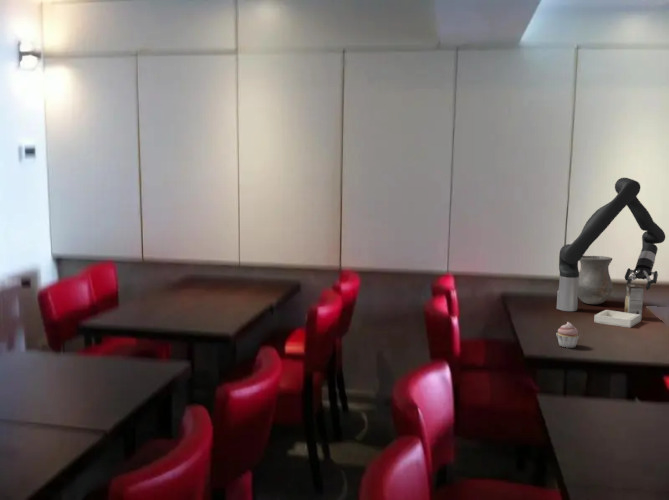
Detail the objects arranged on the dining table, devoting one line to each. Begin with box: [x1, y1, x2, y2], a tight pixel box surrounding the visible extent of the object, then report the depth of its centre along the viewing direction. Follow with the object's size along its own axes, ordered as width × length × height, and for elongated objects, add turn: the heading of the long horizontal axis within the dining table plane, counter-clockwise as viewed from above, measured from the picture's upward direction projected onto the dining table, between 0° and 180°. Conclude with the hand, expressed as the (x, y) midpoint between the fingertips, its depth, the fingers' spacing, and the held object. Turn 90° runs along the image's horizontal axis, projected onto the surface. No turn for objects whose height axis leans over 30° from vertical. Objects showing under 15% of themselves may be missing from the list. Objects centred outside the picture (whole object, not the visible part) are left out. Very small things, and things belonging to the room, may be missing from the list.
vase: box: [578, 255, 614, 305], centre depth 353 cm, size 20×19×25 cm
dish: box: [593, 309, 641, 329], centre depth 311 cm, size 16×16×4 cm
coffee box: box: [623, 283, 645, 321], centre depth 319 cm, size 9×6×16 cm
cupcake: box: [555, 321, 581, 349], centre depth 268 cm, size 9×9×10 cm
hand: (637, 287), depth 323 cm, fingers open, 8 cm apart
